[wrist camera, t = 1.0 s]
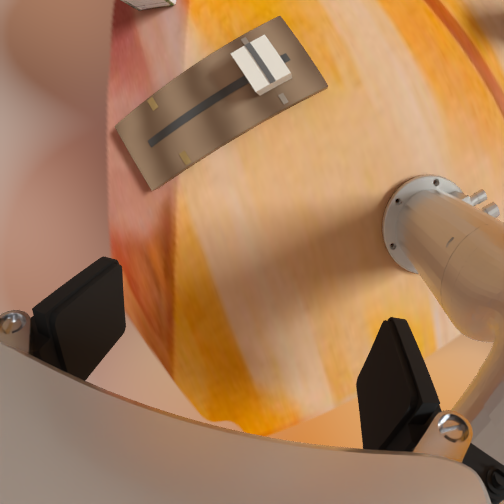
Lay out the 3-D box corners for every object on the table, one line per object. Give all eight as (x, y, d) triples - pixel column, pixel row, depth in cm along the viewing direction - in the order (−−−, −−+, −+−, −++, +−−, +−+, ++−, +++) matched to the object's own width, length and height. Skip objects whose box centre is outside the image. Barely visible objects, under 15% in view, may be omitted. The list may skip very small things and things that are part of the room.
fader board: (281, 21, 29) (280, 15, 27) (326, 88, 31) (328, 85, 29) (122, 126, 36) (114, 126, 34) (158, 188, 39) (151, 191, 37)
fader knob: (268, 42, 28) (264, 34, 25) (292, 78, 29) (290, 72, 26) (236, 60, 29) (230, 53, 26) (259, 95, 30) (255, 91, 28)
